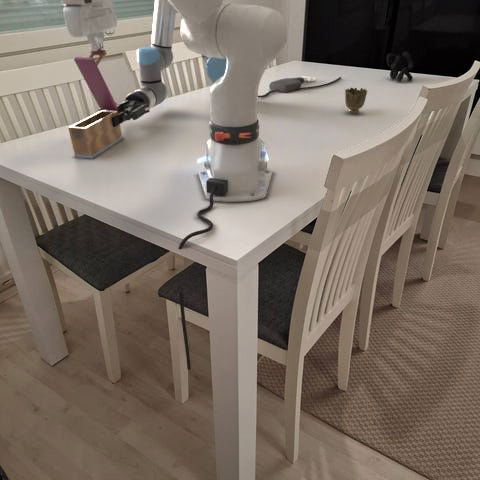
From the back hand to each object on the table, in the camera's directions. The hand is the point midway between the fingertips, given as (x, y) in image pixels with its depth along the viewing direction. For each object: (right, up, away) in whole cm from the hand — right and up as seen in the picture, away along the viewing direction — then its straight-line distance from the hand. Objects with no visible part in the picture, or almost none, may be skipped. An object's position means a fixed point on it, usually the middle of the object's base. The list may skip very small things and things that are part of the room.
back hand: (104, 121), depth 134 cm
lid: (0, +9, -6) cm, 11 cm away
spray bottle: (+64, +32, +61) cm, 94 cm away
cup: (+81, +10, +25) cm, 86 cm away
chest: (-1, -8, 0) cm, 8 cm away
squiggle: (+113, +36, +67) cm, 136 cm away
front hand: (0, +19, -7) cm, 20 cm away
